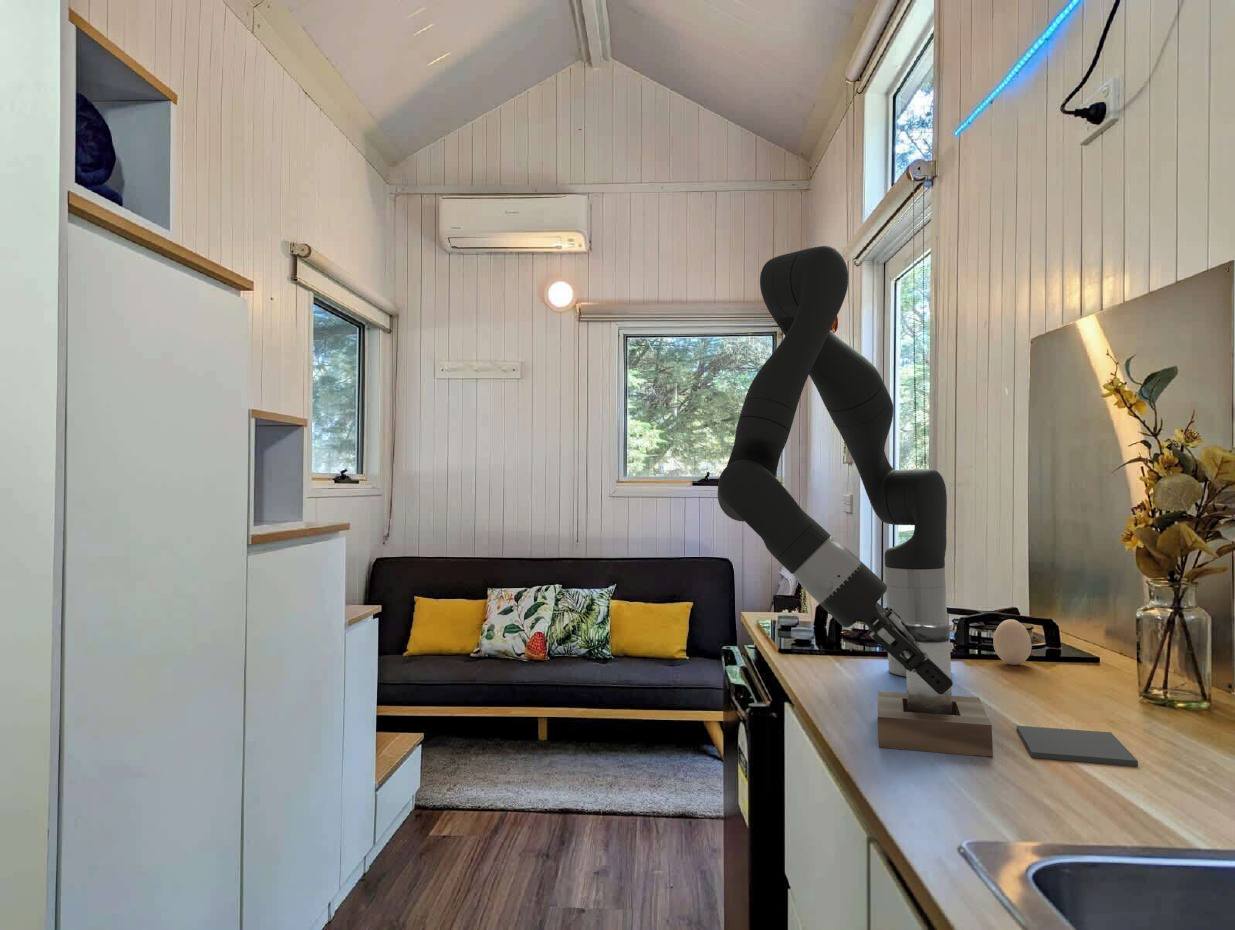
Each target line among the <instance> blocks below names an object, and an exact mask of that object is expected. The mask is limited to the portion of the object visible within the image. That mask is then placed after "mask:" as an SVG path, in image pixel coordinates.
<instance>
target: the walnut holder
mask: <svg viewBox="0 0 1235 930" xmlns="http://www.w3.org/2000/svg"><path fill="white" fill-rule="evenodd" d="M877 732H878V733H877V737H878V738H877V739H878V743H877V745H878V748H883V749H894V750H895V749H896V750H905V751H907V750H908V751H909V750H910V751H918V752H919V751H920V752H928V753H929V752H930V753H941V754H955V755H964V756H966V755H967V756H975V755H982V756H981V757H986V756H992V757H991V758H993V757H994V749H993V748H994V747H993V726H992V723H991V721H990V718H989V716H988V714H987V712H986V710H985V708H984V705H983V704H982V701H981V699H980V697H979V696H977V697H976V696H963V695H962V696H961V695H952V715H943V714H928V713H914V712H908V705H907V692H901V691H900V692H896V691H882V690H881V691H880V690H878V694H877Z"/></svg>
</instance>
